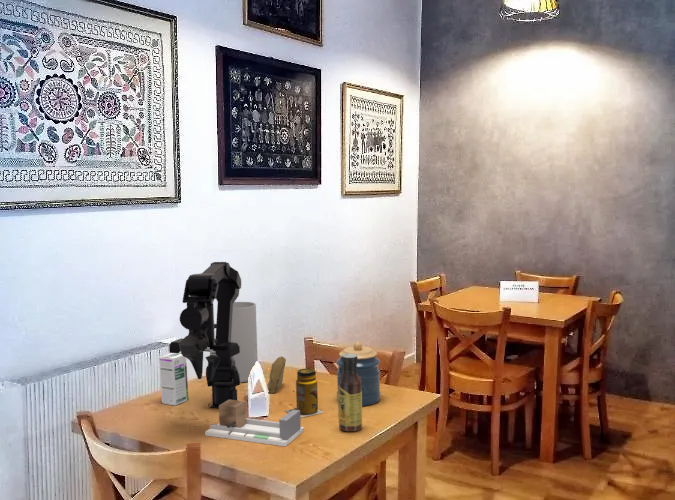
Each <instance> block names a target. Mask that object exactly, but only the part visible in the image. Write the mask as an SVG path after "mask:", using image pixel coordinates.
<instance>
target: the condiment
mask: <svg viewBox="0 0 675 500" xmlns="http://www.w3.org/2000/svg"><path fill="white" fill-rule="evenodd" d="M316 373H317V371H316V370H315V369H314V368H300V369H298V370H297V372H296V374H297V375H296V380H295V388H296V389H295V393H296V395H295V396H296V397H295V398H296V399H295V400H296V408H292V409H285V412H286V413H287V414H288V413H289V412H291V411H292V410H300V419H301V418H305V417H310V416H314V415H319V414H322V413H324V411H323V410H320V409H319V407H318V406H319V405H318V403H319V402H318V401H319V399H318V398H319V397H318V380H317V375H316Z"/></svg>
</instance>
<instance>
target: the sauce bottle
mask: <svg viewBox="0 0 675 500" xmlns="http://www.w3.org/2000/svg"><path fill="white" fill-rule="evenodd" d="M357 360H358V359H357V355H356V354H352V353H348V354H344V355H342V361H343V371H342V374H341V377H340V380H339V383H338V388H337V391H338V397H337V400H338V402H337V405H338V406H337V407H338V411H337V412H338V427H339V429H340V430H342V431H343V432H357V431H360V430H361V429H362V426H363V406H362V389H361V378H360V376H359V375H358V373H357Z"/></svg>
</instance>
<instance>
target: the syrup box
mask: <svg viewBox="0 0 675 500" xmlns="http://www.w3.org/2000/svg"><path fill="white" fill-rule="evenodd" d="M158 359H159V360H158V361H159V363H158V364H159V375H160V376H159V377H160V379H159V380H160V390H161V391H160V392H161V393H160V394H161V404H165V405H169V406H174V407H175V406H177V405H180V404H182V403H185V402H188V401H189V386H188V385H189V383H188V366H187V363H188V362H187V358H186V357H183V355H182V354H181V352H180V353H178V354H177V353H170V352H169V353H167V354H164V355H161V356H159V357H158Z"/></svg>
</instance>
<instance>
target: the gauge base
mask: <svg viewBox="0 0 675 500" xmlns="http://www.w3.org/2000/svg"><path fill="white" fill-rule="evenodd" d="M291 410H292V409H291ZM301 422H302V421H301V418H300V410H292V411H291V412H289V413H288V412H287V413H286V414H285V415H284V416H283V417H281V418H280V419H279V420H278V421H271V420H264V419H256V418H254V419H253V418H248V417H246V424H244V425H243V426H241V427H240V428H238V427H230V428H227V426H223V425H220V422H218V423H216V424H213V423H212V424H210V428H209V429H207V430H206V431H205V432H204V433H205V436H206V437H213V438H214V437H216V438H221V439H229V440H236V441H242V442H249V443H259V444H264V445H272V446H273V445H274V446H279V447H287V446H288V445H289V444H290V443H291V442H292V441H294V440H295V439H296V438H297V437H299V436H300V435H301V434H302V433H303V432H305V428H304V426H302V425H301Z"/></svg>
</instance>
